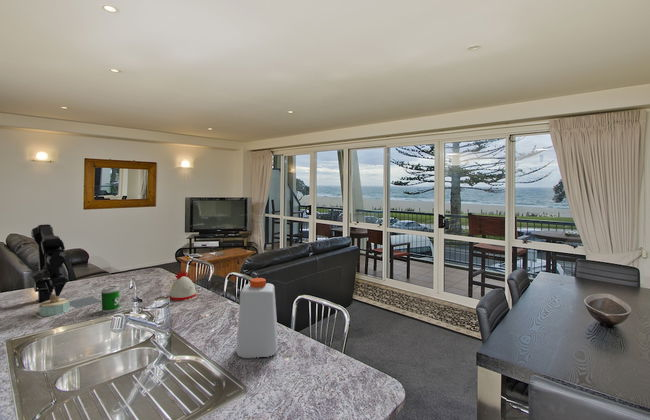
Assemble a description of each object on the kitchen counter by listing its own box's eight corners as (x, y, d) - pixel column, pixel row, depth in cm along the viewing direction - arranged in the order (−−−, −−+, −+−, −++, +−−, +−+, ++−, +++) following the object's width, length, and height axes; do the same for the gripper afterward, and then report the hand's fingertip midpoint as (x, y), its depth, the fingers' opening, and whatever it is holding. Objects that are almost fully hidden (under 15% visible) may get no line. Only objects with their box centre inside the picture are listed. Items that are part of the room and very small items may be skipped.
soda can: (111, 314, 161) (110, 290, 161) (98, 312, 163) (97, 289, 162) (123, 308, 169) (122, 286, 168) (111, 307, 170) (110, 284, 169)
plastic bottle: (241, 340, 136) (241, 274, 134) (278, 340, 137) (279, 274, 135) (234, 360, 121) (234, 285, 119) (275, 359, 122) (276, 285, 120)
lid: (37, 304, 161) (37, 295, 161) (63, 298, 170) (62, 290, 170) (45, 308, 155) (44, 299, 155) (71, 302, 164) (70, 294, 164)
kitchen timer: (165, 296, 188) (165, 271, 187) (188, 291, 199) (188, 266, 198) (176, 302, 179) (176, 275, 178) (200, 296, 190) (200, 270, 189)
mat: (65, 303, 176) (65, 302, 176) (91, 297, 186) (91, 296, 186) (76, 308, 168) (76, 308, 168) (102, 302, 178) (102, 301, 178)
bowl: (36, 313, 161) (35, 304, 161) (64, 306, 171) (64, 298, 170) (44, 318, 155) (43, 309, 155) (73, 311, 164) (72, 302, 164)
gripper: (25, 263, 160) (26, 295, 161) (38, 269, 149) (39, 303, 150) (53, 259, 169) (54, 289, 170) (67, 265, 158) (69, 296, 159)
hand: (54, 294), depth 162 cm, fingers open, 9 cm apart
